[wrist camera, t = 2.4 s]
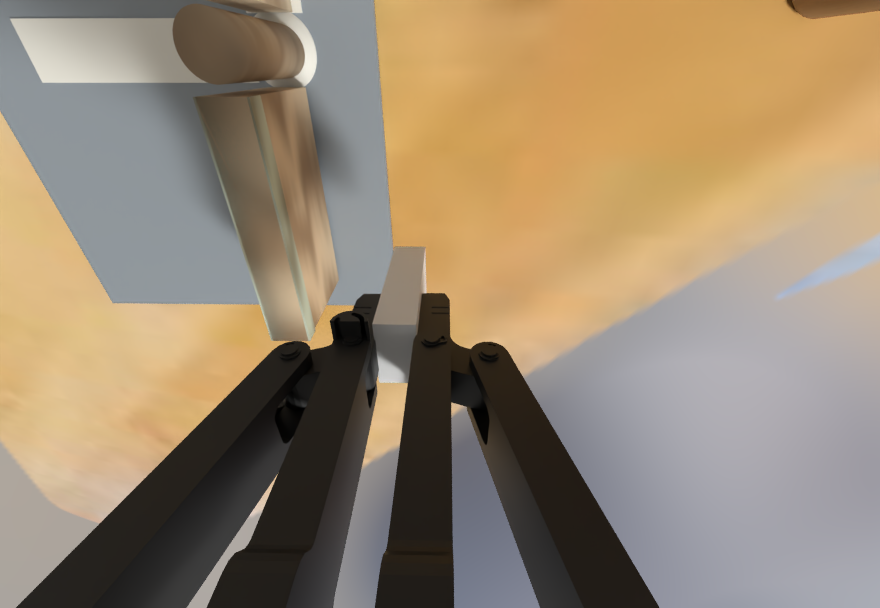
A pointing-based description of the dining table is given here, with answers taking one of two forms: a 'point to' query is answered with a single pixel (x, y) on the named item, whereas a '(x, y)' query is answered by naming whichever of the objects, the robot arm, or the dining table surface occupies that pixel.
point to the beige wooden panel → (237, 42)
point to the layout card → (185, 142)
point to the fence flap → (275, 201)
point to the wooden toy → (834, 7)
